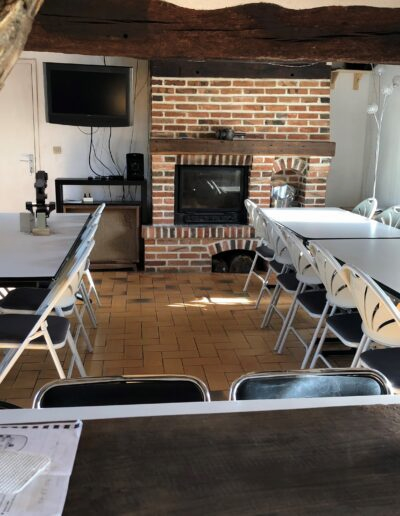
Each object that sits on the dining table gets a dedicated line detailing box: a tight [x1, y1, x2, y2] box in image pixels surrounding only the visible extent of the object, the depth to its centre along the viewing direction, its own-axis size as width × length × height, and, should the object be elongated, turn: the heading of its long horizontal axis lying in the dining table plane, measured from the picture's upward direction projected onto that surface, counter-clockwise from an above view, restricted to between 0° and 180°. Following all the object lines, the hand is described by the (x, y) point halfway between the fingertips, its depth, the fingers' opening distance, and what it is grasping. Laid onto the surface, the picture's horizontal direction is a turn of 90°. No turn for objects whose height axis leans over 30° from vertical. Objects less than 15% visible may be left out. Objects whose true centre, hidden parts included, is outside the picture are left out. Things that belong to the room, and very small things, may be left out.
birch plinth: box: [31, 227, 51, 237], centre depth 346 cm, size 10×10×4 cm
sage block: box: [36, 213, 47, 229], centre depth 345 cm, size 5×5×10 cm
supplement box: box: [19, 210, 36, 233], centre depth 355 cm, size 7×7×13 cm
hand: (41, 216), depth 344 cm, fingers open, 9 cm apart
